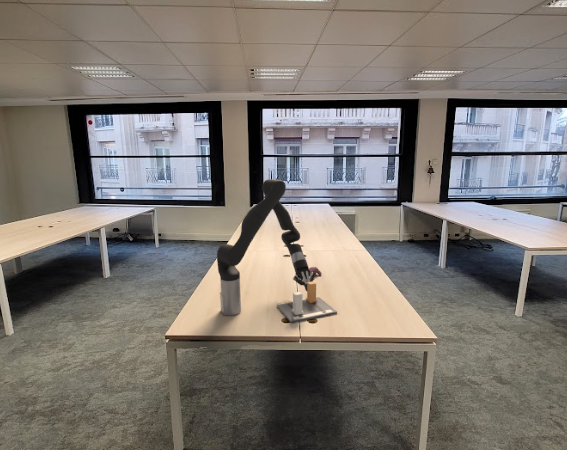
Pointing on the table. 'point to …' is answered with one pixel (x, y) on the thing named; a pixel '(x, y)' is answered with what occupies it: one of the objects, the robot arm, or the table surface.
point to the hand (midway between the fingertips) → (309, 291)
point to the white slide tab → (297, 303)
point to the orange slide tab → (311, 292)
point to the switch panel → (307, 310)
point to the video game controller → (315, 271)
